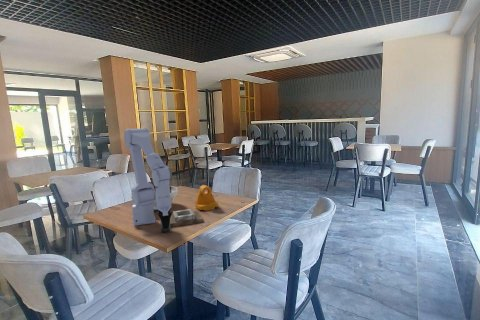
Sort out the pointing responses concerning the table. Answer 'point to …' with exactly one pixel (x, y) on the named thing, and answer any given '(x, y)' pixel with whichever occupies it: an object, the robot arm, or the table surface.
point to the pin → (165, 229)
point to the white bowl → (172, 193)
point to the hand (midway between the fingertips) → (165, 226)
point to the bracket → (205, 199)
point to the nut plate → (185, 217)
